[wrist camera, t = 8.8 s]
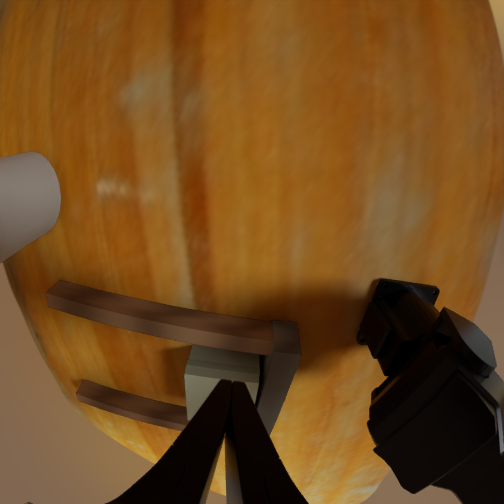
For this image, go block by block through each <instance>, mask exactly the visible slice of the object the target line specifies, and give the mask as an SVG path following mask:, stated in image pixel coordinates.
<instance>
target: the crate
mask: <svg viewBox="0 0 504 504" xmlns="http://www.w3.org/2000/svg"><path fill="white" fill-rule="evenodd" d="M259 376H260V367H259V354H254V353H246V352H239V351H232V350H226V349H220V348H214V347H207V346H200V345H193V346H192V349H191V353H190V356H189V359H188V360H187V364H186V370H185V373H184V378H185V393H186V406H187V418H188V420H191V419H192V417H193V416H194V415H195V413H196V412H197V411H198V409H199V408H200V407H201V405H202V404H203V402H204V401H205V400H206V398H207V397H208V396H209V394H210V393H211V391H212V390H213V389H214V387H215V386H216V384H217V383H218V382H219V380H220V379H227V380H232V383H233V381H241V382H245V384H246V386H247V388H248V390H249V392H250V395H251V397H252V399H253V401H254V404H255V400H256V395H257V391H258V386H259Z"/></svg>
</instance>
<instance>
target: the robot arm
mask: <svg viewBox="0 0 504 504" xmlns="http://www.w3.org/2000/svg"><path fill="white" fill-rule="evenodd" d="M384 284H386V285H385V286H384V287H382V286H383V285H384ZM434 291H435V292H434ZM433 292H434V293H433ZM439 292H440V290H439V289H438V288H437V287H436V286H431V285H424V284H417V283H411V282H404V281H397V280H391V279H382V280H380V281H379V283H378V285H377V288H376V291H375V293H374V296H373V299H372V301H371V302H370V303H369V305H368V308H367V310H366V313H365V315H364V317H363V320H362V322H361V325H360V330H359V333H358V335H357V337H356V340H357V342H358V344H361V345H368V347H369V350H370V352H371V355H372V357H373V358H374V359H377V360H378V362H379V364H380V367H381V369H382V371H383V374H384V376H388V377H387V379H386V380H385V381H384V382H383V383H382V384H381V385H380V386H379V387H378V388H377V387H376V388H375V389H374V390H373V391H372V393H371V405H370V408H369V418H370V420H368V421H367V427H368V430H369V433H370V435H371V437H372V439H373V441H374V443H375V444H376V447H375V448H374V449H373V451H374V452H375V453H376V454H377V455H378V456H380V457H381V458H382V459H383V460H384V461H385V462H386V463H387V464H388V465H389V466H390V467H391V469H392V471H393V472H394V474H395V475H396V477H397V479H398V481H399V483H400V485H401V486H402V487H403V488H404V489H406V490H407V491H409V492H410V493H412V494H416V493H418V492H419V491H421V490H423V489H424V488H426V487H428V486H429V485H432V486H435V487H438V488H443V489H447V490H450V491H452V492H453V493H454V494H455V496H456V497H457V498H458V499H459V501H460V502H461V503H462V504H504V382H503V380H502V379H501V378H500V377H499V375H498V374H497V373H496V372H495V370H494V369H495V368H496V367H497V364H496V359H495V355H494V350H493V346H492V342H491V340H490V339H489V338H488V337H487V336H486V335H485V334H484V333H483V332H482V331H481V330H480V329H479V328H478V327H477V326H476V325H475V324H474V323H473V322H471V321H469V320H467V319H466V318H464V317H462V316H460V315H458V314H457V313H455V312H453V311H451V310H449V309H448V308H446V307H443V309H442V310H441V312H440V313H439V312H438V310H437V309H436V308H435V307H434V304H435V302H436V300H437V297H438V295H439ZM362 338H363V339H362ZM360 339H362V340H360ZM224 436H225V468H226V498H227V504H309V503H308V502H307V501H306V499H305V498H304V497H303V495H302V494H301V493H300V491H299V490H298V488H297V487H296V485H295V484H294V482H293V481H292V479H291V478H290V476H289V474H288V472H287V471H286V469H285V467H284V465H283V463H282V461H281V459H279V455H278V453H277V451H276V449H275V447H274V445H273V443H272V440H271V438H270V436H269V434H268V432H267V430H266V428H265V426H264V423H263V421H262V419H261V417H260V415H259V413H258V410H257V408H256V406H255V404H254V401H253V399H252V397H251V395H250V392H249V390H248V388H247V386H246V384H245V382H241V381H233V383H232V380H227V379H220V380H219V382H218V383H217V384H216V386H215V387H214V389H213V390H212V391H211V393H210V394H209V396H208V397H207V398H206V400H205V401H204V402H203V404H202V405H201V407H200V408H199V409H198V411H197V412H196V413H195V415H194V416H193V417H192V419H191V420H190V421H189V423H188V424H187V425H186V427H185V428H184V429H183V431H182V432H181V433H180V435H179V436H178V437H177V439H176V440H175V441H174V443H173V445H171V446H170V448H169V449H168V450H167V451H166V453H165V454H164V455H163V456H162V457H161V459H160V460H159V461H158V462H157V463H156V464H155V465H154V466H153V467H152V468H151V469H150V470H149V471H148V472H147V473H146V474H145V475H144V476H143V477H141V478H140V479H139V480H138V481H137V482H136V483H135V484H133V485H132V486H131V487H130V488H129V489H128V490H126V491H125V492H124V493H123V494H122V495H120V496H119V497H117V498H116V499H114V500H112V501H110V502H108V503H106V504H205V503H206V500H207V496H208V493H209V490H210V486H211V483H212V479H213V476H214V472H215V469H216V465H217V462H218V458H219V455H220V451H221V448H222V444H223V440H224ZM25 504H32V503H30V502H27V503H25Z"/></svg>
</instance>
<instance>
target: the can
mask: <svg viewBox="0 0 504 504" xmlns="http://www.w3.org/2000/svg"><path fill="white" fill-rule="evenodd" d="M60 202H61V195H60V187H59V182H58V179H57V176H56V173H55V170H54V169H53V167H52V166H51V164H50V163H49V161H48V160H47V159H46V158H44V157H43V156H42V155H41V154H39V153H35V152H31V151H30V152H25V153H20V154H16V155H12V156H7V157H3V158H0V263H1V262H3V261H4V260H6V259H7V258H9V257H10V256H12V255H13V254H15V253H16V252H18V251H19V250H21V249H22V248H24V247H25V246H27V245H28V244H30V243H32V242H33V241H35V240H36V239H38V238H40V237H41V236H43V235H44V234H46V233H48V232H49V231H50V230H51V229H52V228H53V226H54V225H55V224H56V221H57V218H58V215H59V212H60Z"/></svg>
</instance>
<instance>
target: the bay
mask: <svg viewBox="0 0 504 504" xmlns="http://www.w3.org/2000/svg"><path fill="white" fill-rule="evenodd" d="M46 297H47V302H48V306H49V307H50V308H53V309H56V310H59V311H63V312H66V313H69V314H72V315H76V316H79V317H82V318H86V319H89V320H93V321H96V322H100V323H103V324H107V325H111V326H115V327H119V328H122V329H126V330H131V331H135V332H139V333H143V334H148V335H152V336H156V337H161V338H166V339H171V340H176V341H181V342H186V343H191V344H196V345H202V346H208V347H214V348H220V349H226V350H232V351H239V352H246V353H254V354H261V355H264V357H263V361H262V365H261V368H260V376H259V386H258V391H257V395H256V400H255V406H256V408H257V410H258V413H259V415H260V417H261V419H262V421H263V423H264V426H265V428H266V430H267V432H268V434H269V436H270V434H271V432H272V429H273V427H274V425H275V422H276V420H277V417H278V415H279V413H280V410H281V408H282V405H283V403H284V400H285V398H286V395H287V393H288V390H289V388H290V385H291V382H292V380H293V377H294V374H295V372H296V369H297V366H298V364H299V361H300V358H301V355H302V354H301V347H300V341H299V335H298V329H297V323H294V322H286V321H279V320H273V322H267V321H260V320H253V319H246V318H240V317H233V316H227V315H221V314H215V313H209V312H203V311H197V310H192V309H186V308H181V307H175V306H170V305H165V304H160V303H155V302H150V301H145V300H141V299H136V298H131V297H127V296H122V295H118V294H113V293H109V292H105V291H101V290H97V289H92V288H88V287H84V286H80V285H77V284H73V283H69V282H65V281H61V280H59V281H58V282H57V283H56V284H55V285H54V286H53V287H52V288H51V289H49V290H48V291H47V292H46ZM76 395H77V398H78V400H79V401H80V402H83V403H86V404H88V405H91V406H94V407H97V408H100V409H103V410H105V411H108V412H112V413H115V414H118V415H121V416H124V417H128V418H131V419H135V420H138V421H142V422H146V423H149V424H153V425H157V426H162V427H166V428H170V429H175V430H180V431H183V429H184V428H185V427H186V425H187V424H188V423H189V421H190V420H188V418H187V408H186V407H181V406H176V405H172V404H167V403H163V402H159V401H154V400H150V399H146V398H143V397H139V396H135V395H131V394H128V393H124V392H121V391H118V390H114V389H111V388H108V387H105V386H102V385H99V384H96V383H93V382H90V381H87V380H83V382H82V384H81V385H80V387H79V389H78V390H77V392H76ZM224 438H225V436H224Z"/></svg>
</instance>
